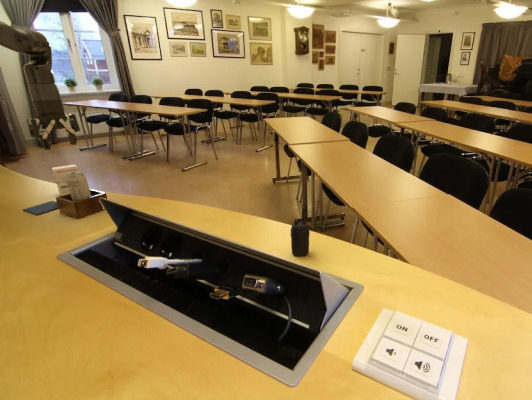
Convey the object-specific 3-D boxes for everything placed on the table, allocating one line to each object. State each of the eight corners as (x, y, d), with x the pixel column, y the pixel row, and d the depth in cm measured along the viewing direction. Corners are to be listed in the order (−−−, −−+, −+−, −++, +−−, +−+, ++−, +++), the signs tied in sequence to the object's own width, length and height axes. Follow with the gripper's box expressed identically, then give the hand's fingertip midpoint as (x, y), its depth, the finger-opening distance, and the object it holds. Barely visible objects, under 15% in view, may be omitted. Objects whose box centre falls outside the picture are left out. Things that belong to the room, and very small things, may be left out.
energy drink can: (98, 207, 125) (88, 171, 120) (83, 213, 120) (71, 175, 114) (87, 205, 127) (76, 169, 122) (72, 211, 122) (60, 173, 116)
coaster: (36, 215, 119) (36, 214, 119) (23, 210, 123) (22, 209, 123) (66, 206, 127) (66, 205, 127) (52, 201, 131) (52, 200, 131)
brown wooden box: (78, 219, 117) (73, 203, 114) (60, 213, 121) (55, 197, 119) (109, 207, 126) (105, 192, 124) (92, 202, 131) (88, 188, 129)
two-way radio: (308, 250, 98) (308, 205, 92) (310, 258, 94) (310, 211, 88) (290, 251, 97) (289, 206, 91) (291, 259, 93) (290, 212, 87)
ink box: (82, 188, 146) (75, 163, 142) (84, 191, 143) (77, 166, 138) (59, 193, 141) (51, 167, 136) (61, 196, 137) (52, 169, 133)
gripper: (61, 96, 112) (74, 142, 118) (13, 99, 100) (30, 150, 106) (76, 97, 110) (88, 144, 116) (29, 100, 97) (46, 152, 103)
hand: (61, 147), depth 111 cm, fingers open, 8 cm apart
